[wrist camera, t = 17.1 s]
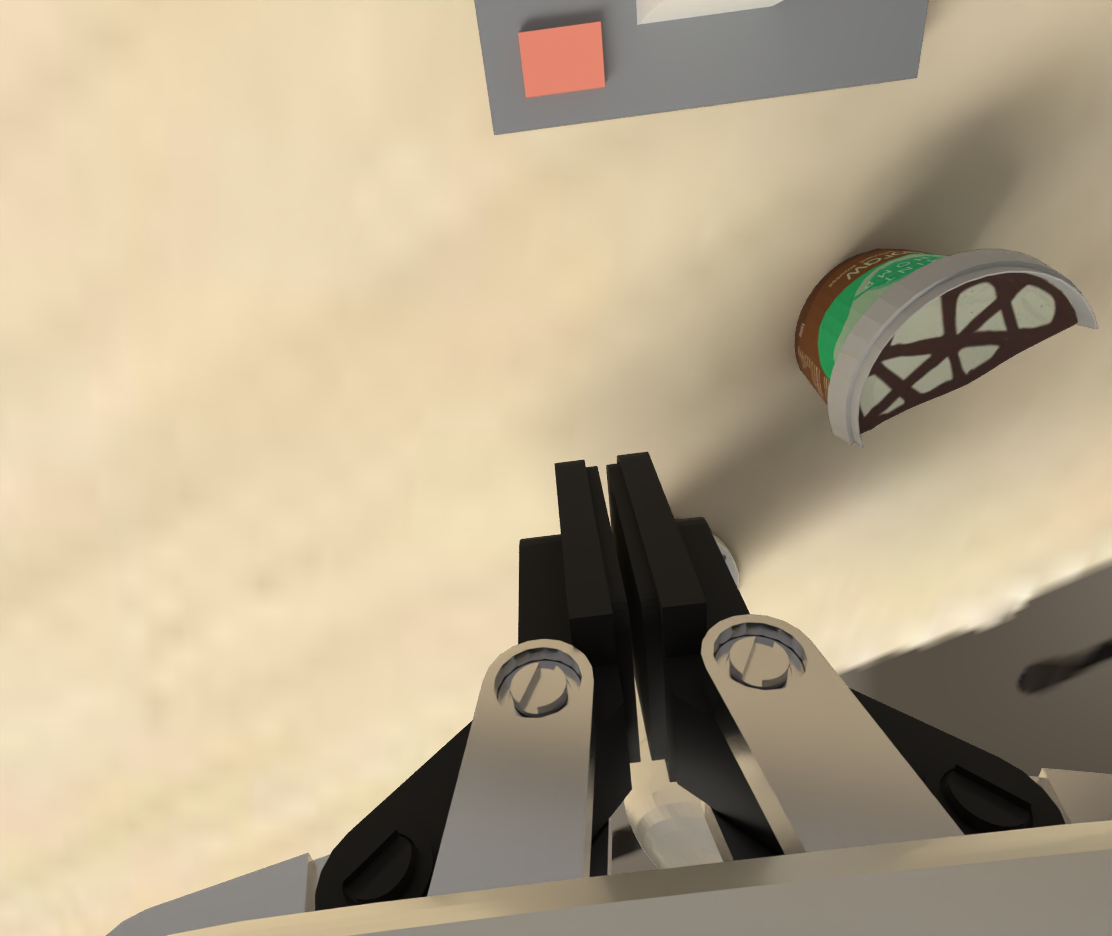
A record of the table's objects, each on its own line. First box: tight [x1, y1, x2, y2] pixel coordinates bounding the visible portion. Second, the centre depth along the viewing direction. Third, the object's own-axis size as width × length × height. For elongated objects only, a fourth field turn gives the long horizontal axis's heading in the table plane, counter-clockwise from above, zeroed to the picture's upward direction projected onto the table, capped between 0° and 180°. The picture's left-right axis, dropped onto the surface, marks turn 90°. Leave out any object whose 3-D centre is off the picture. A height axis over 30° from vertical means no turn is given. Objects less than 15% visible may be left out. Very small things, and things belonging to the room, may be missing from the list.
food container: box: [795, 249, 1098, 447], centre depth 32 cm, size 12×6×10 cm, turn 122°
